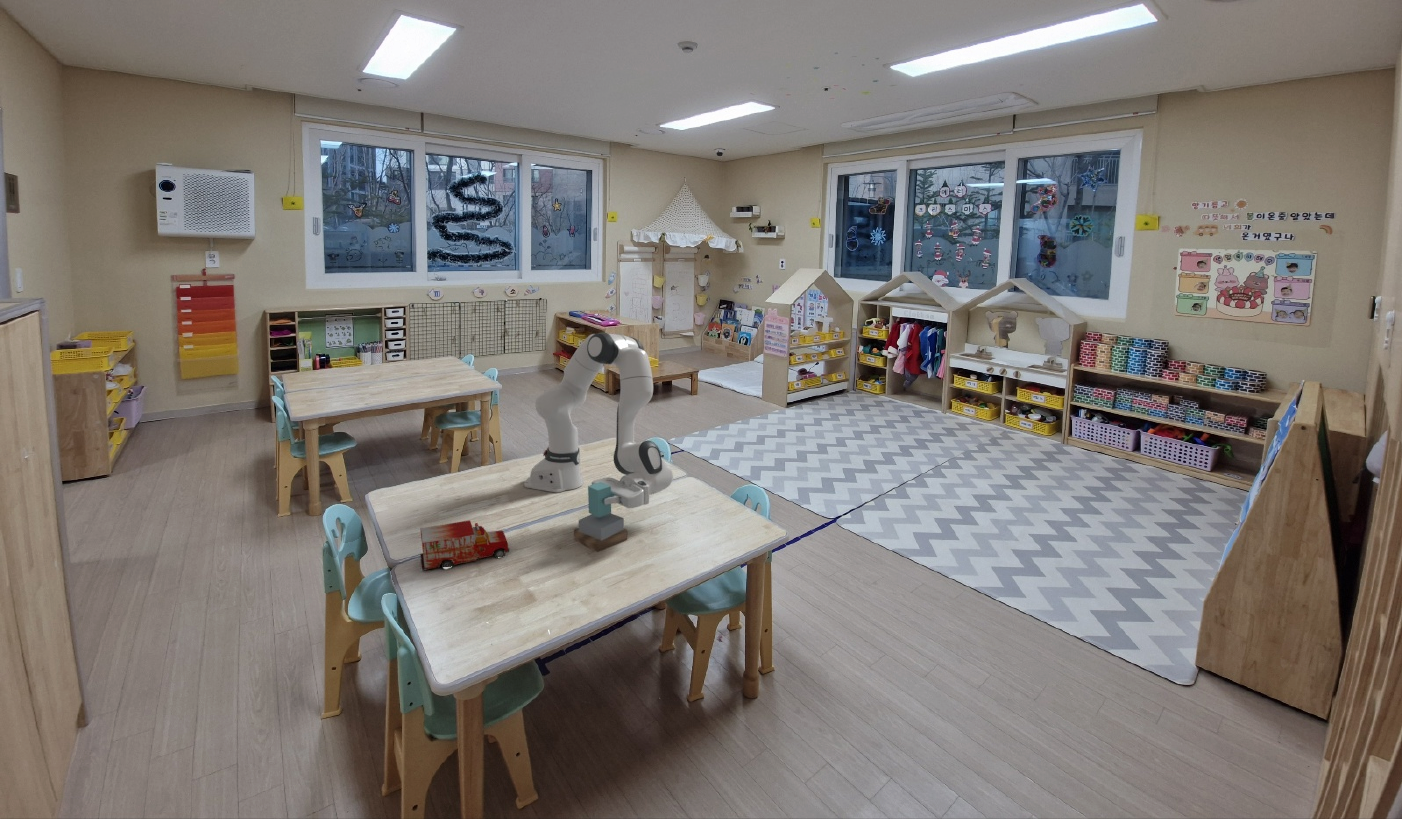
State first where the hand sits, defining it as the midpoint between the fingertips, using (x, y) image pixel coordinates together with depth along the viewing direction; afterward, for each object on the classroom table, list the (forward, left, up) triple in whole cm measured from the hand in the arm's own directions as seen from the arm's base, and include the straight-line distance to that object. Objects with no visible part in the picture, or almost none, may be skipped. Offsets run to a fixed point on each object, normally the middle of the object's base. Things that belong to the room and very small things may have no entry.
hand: (597, 498), depth 208 cm
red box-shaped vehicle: (-36, -18, -15) cm, 43 cm away
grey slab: (+1, +1, -11) cm, 11 cm away
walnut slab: (0, +1, -15) cm, 15 cm away
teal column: (+1, +1, -5) cm, 5 cm away
